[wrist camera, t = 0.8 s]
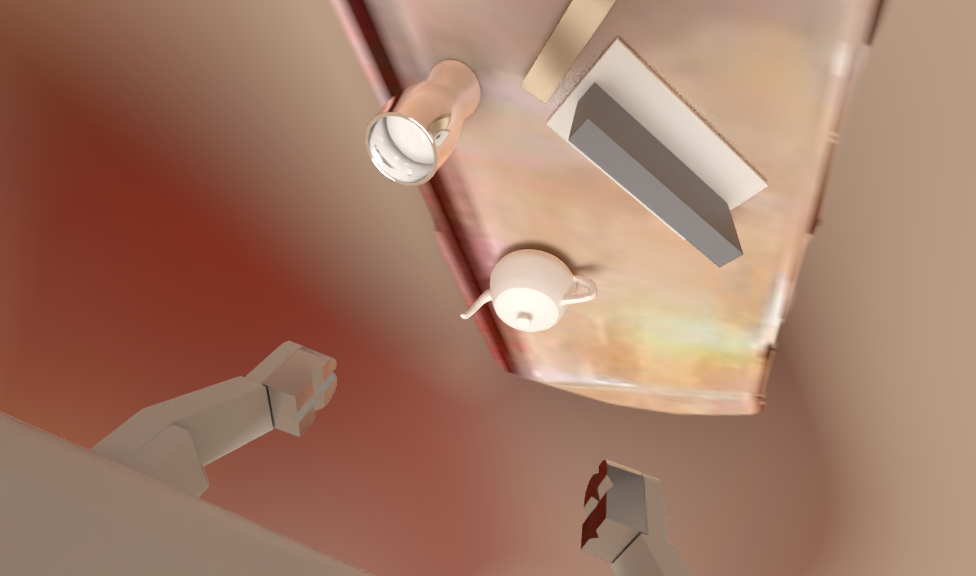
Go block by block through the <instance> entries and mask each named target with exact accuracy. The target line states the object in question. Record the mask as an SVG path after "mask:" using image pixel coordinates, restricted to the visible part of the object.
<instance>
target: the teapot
mask: <svg viewBox="0 0 976 576" xmlns="http://www.w3.org/2000/svg"><path fill="white" fill-rule="evenodd" d="M576 282H577V283H578V284H579V285H581V286H584V287H586V288H587V289H588V290H589V292H588V293H585V294H580V295H575V293H576V292H575V291H576V285H575V283H576ZM596 295H597V288H596V284H595V283H594V282H593V281H592V280H591V279H589V278H587V277H585V276H583V275H577V276H574V275H573V274H572V273H571V271H570V270H569V268H568V267H567V266H566V265H565V264H564V263H563V262H562V261H561V260H560V259H558V258H557V257H555V256H554V255H552V254H550V253H547V252H544V251H540V250H534V249H524V250H518V251H514V252H511V253H509V254H507V255H505V256H504V257H503V258H501V259H500V260H499V261H498V262H497V264H496V265H495V266H494V268H493V270H492V273H491V277H490V289H488V290H487V291H485V292H484V293H483V294H482V295H481V296H480V297H479V298H478V299H477V300H476V301H475V303H474V304H473V305H472V306H471V308H470V309H469V310H468V311H466V312H465V313H464V314H462V315H461V317H462V318H463V319H468V318H469V317H470V316H472V315H473V314H474V313H475V312H476V311H477V310H478V309H479V308H480V307H481V306H482V305H483V304H484V303H486V302H488V301H490V300H492V303H493V306H494V309H495V311H496V313H497V315H498V316H499V318H500V319H501V320H502V321H503V322H505V323H506V324H507V325H509V326H511V327H513V328H515V329H518V330H521V331H526V332H539V331H544V330H547V329H549V328H550V327H552V326H553V325H555V324H556V323H557V322H558V321H559V320H560V319H561V318H562V316H563V315H564V314H565V312H566V311H567V309H568V308H569V306H570V304H572V303H580V302H586V301H589V300H592V299H593V298H595V297H596Z"/></svg>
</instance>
